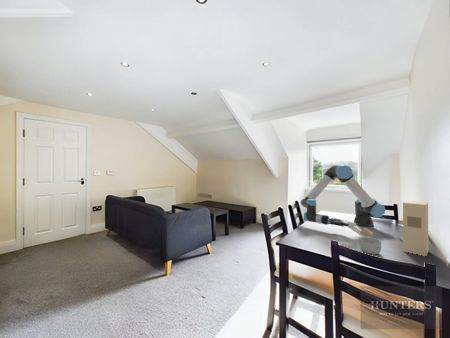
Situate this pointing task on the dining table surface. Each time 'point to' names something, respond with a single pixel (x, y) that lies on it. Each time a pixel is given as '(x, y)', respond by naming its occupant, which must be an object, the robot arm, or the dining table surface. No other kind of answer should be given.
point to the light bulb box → (400, 231)
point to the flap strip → (363, 232)
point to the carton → (415, 227)
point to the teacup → (370, 245)
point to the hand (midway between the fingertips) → (354, 225)
